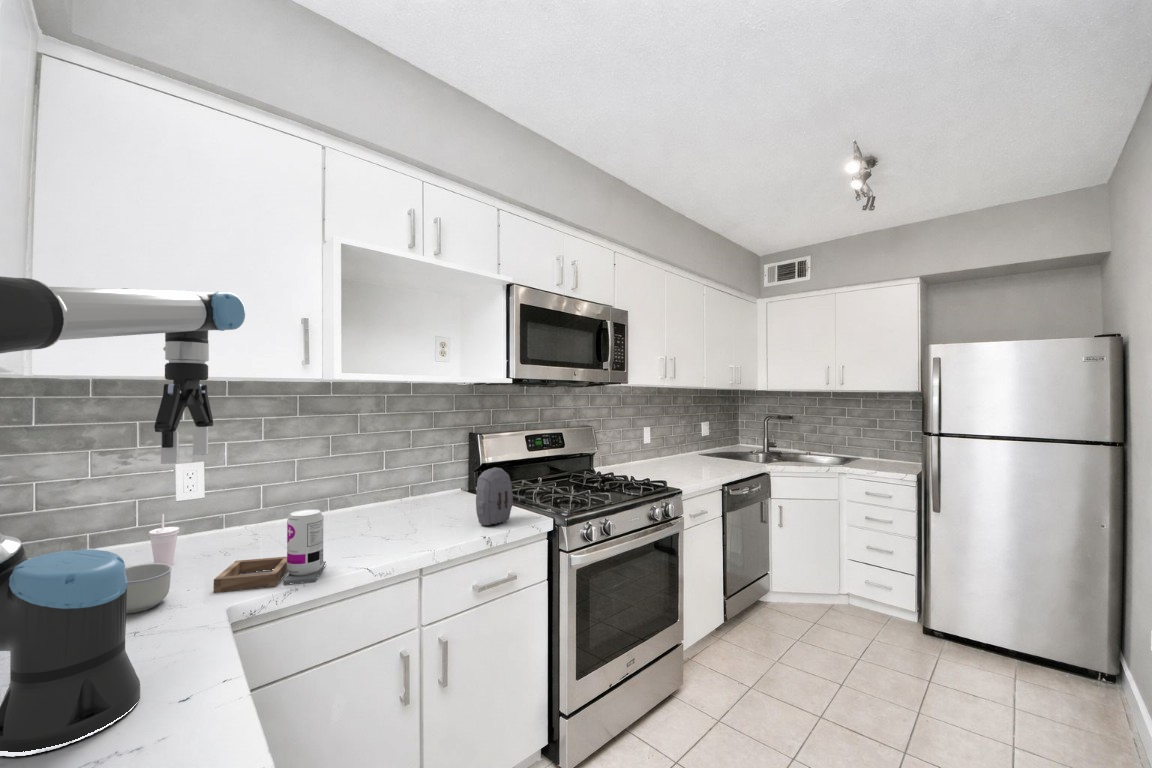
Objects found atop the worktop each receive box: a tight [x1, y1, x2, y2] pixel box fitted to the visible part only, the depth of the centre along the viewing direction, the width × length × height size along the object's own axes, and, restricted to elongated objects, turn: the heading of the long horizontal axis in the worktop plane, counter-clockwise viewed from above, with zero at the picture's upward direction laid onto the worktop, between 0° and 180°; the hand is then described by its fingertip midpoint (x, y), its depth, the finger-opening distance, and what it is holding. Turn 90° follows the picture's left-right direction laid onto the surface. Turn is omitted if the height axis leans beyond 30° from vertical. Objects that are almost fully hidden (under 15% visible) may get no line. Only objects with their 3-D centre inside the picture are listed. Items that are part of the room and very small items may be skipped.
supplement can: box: [286, 508, 324, 576], centre depth 126 cm, size 8×8×15 cm
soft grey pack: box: [475, 467, 514, 526], centre depth 173 cm, size 15×8×20 cm, turn 142°
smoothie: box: [148, 513, 180, 567], centre depth 132 cm, size 6×6×14 cm
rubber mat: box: [282, 560, 327, 585], centre depth 126 cm, size 12×7×1 cm, turn 16°
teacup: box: [125, 562, 173, 614], centre depth 106 cm, size 14×11×8 cm
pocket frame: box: [213, 556, 288, 593], centre depth 123 cm, size 13×13×3 cm
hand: (185, 459), depth 107 cm, fingers open, 13 cm apart
